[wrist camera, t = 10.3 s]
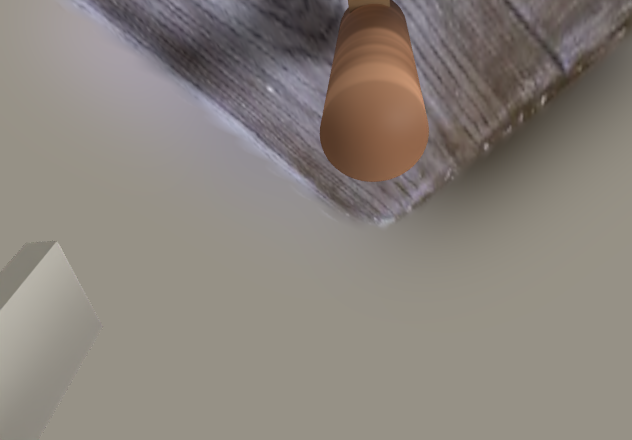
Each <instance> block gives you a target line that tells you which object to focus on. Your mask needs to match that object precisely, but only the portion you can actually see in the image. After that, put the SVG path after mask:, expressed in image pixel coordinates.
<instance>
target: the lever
mask: <svg viewBox="0 0 632 440" xmlns="http://www.w3.org/2000/svg"><path fill="white" fill-rule="evenodd" d="M348 5H349V7H348V9H347V10H346V11H345V13H344V15H343V17H342V20H341V23H340V28H339V33H338V38H337V44H336V49H335V54H334V59H333V64H332V69H331V74H330V80H329V85H328V90H327V95H326V100H325V105H324V110H323V116H322V121H321V126H320V141H321V145H322V148H323V151H324V153H325V155H326V157H327V158H328V160H329V161H330V162H331V164H332V165H333V166H334V167H335V168H336V169H338V170H339V171H340V172H342V173H343V174H345V175H347V176H349V177H351V178H354V179H357V180H361V181H369V182H378V181H385V180H389V179H392V178H395V177H397V176H400V175H401V174H403V173H405V172H406V171H408V170H409V169H410V168H411V167H413V166H414V165H415V164H416V162H417V161H418V160H419V159H420V157H421V156H422V154H423V152H424V150H425V148H426V145H427V142H428V136H429V127H428V120H427V116H426V111H425V106H424V102H423V97H422V93H421V88H420V84H419V79H418V74H417V70H416V65H415V61H414V56H413V51H412V47H411V42H410V38H409V33H408V29H407V24H406V20H405V16H404V14H403V12H402V10H401V9H400V7H399V6H398V5H397V4H396V3H395V2H393V1H392V0H348Z"/></svg>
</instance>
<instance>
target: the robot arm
mask: <svg viewBox="0 0 632 440" xmlns="http://www.w3.org/2000/svg"><path fill="white" fill-rule="evenodd" d="M102 328H103V326H102V324H101V322H100V320H99V318H98V316H97V314H96V313H95V311H94V309H93V307H92V305H91V303H90V301H89V300H88V298H87V296H86V294H85V292H84V290H83V288H82V287H81V285H80V283H79V281H78V279H77V277H76V275H75V274H74V272H73V270H72V268H71V266H70V264H69V262H68V260H67V259H66V257H65V255H64V253H63V251H62V249H61V247H60V246H59V244H58V242H57V241H48V242H32V243H26V244H25V245H24V246H23V247H22V248H21V250H19V252H18V253H17V254H16V255H15V256H14V257H13V258H12V259H11V261H10V262H9V263H8V264H7V265H6V266H5V267H4V268H3V270H2V271H1V272H0V440H39V438H40V436H41V434H42V433H43V431H44V429H45V428H46V426H47V424H48V422H49V420H50V419H51V417H52V415H53V414H54V412H55V410H56V408H57V406H58V405H59V403H60V401H61V400H62V398H63V396H64V394H65V392H66V391H67V389H68V387H69V385H70V384H71V382H72V380H73V378H74V377H75V375H76V373H77V371H78V369H79V368H80V366H81V364H82V363H83V361H84V359H85V357H86V356H87V354H88V352H89V350H90V348H91V347H92V345H93V343H94V342H95V340H96V338H97V336H98V335H99V333H100V331H101V329H102Z"/></svg>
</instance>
